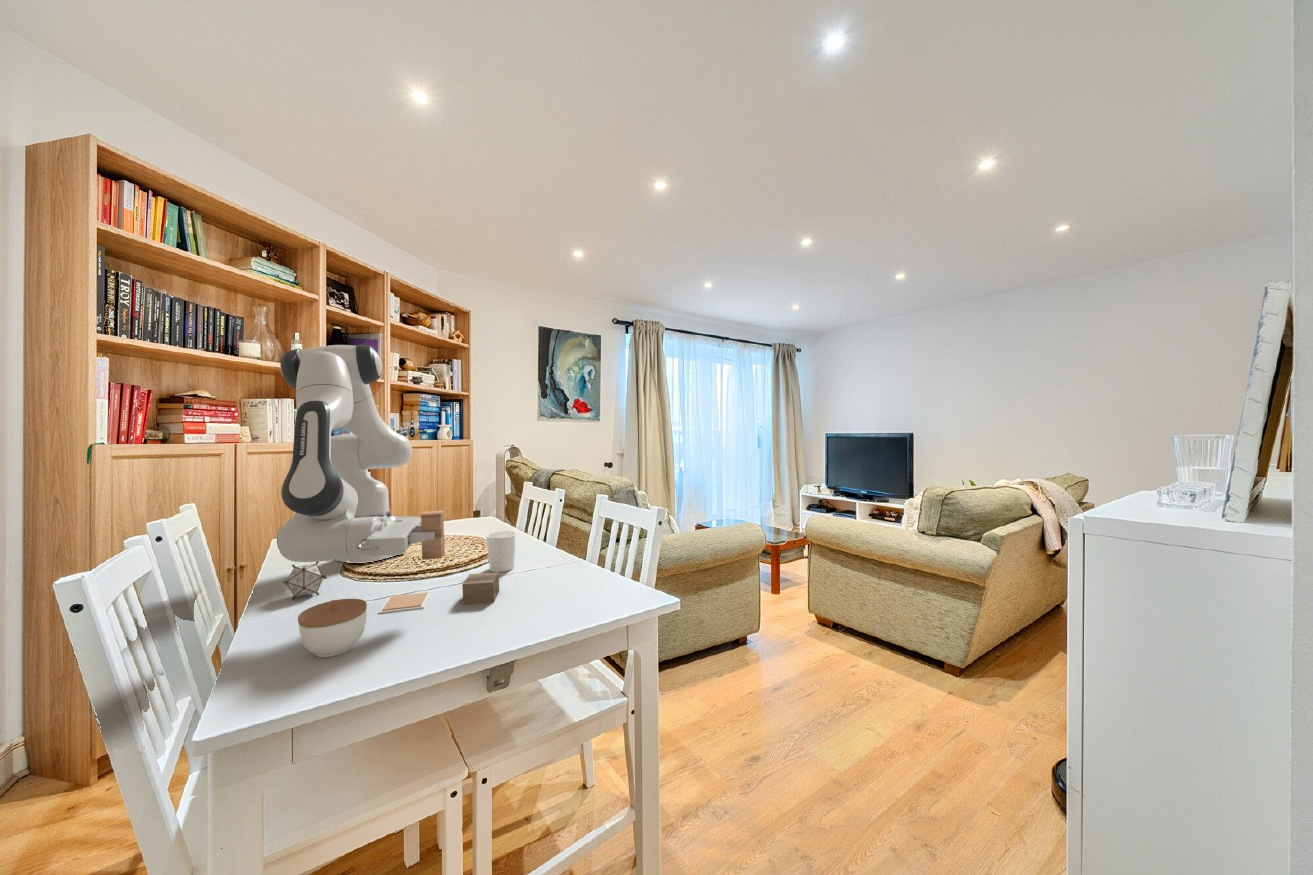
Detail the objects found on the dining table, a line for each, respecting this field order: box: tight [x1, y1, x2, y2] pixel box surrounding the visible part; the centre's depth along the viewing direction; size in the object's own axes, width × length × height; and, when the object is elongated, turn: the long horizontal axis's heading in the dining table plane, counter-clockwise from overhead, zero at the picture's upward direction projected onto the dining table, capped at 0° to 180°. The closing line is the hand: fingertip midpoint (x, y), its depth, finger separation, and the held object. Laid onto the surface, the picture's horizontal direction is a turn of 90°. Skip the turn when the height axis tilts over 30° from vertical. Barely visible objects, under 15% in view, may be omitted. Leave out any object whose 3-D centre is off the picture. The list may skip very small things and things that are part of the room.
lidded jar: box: [297, 598, 368, 658], centre depth 88 cm, size 11×11×9 cm
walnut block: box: [462, 572, 500, 605], centre depth 112 cm, size 7×7×5 cm
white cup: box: [486, 530, 516, 573], centre depth 133 cm, size 8×8×10 cm
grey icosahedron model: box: [281, 562, 328, 601], centre depth 115 cm, size 9×8×10 cm
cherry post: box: [420, 510, 446, 561], centre depth 105 cm, size 4×4×10 cm
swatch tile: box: [378, 592, 432, 614], centre depth 109 cm, size 9×9×1 cm
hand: (437, 531), depth 105 cm, fingers closed on cherry post, 4 cm apart
